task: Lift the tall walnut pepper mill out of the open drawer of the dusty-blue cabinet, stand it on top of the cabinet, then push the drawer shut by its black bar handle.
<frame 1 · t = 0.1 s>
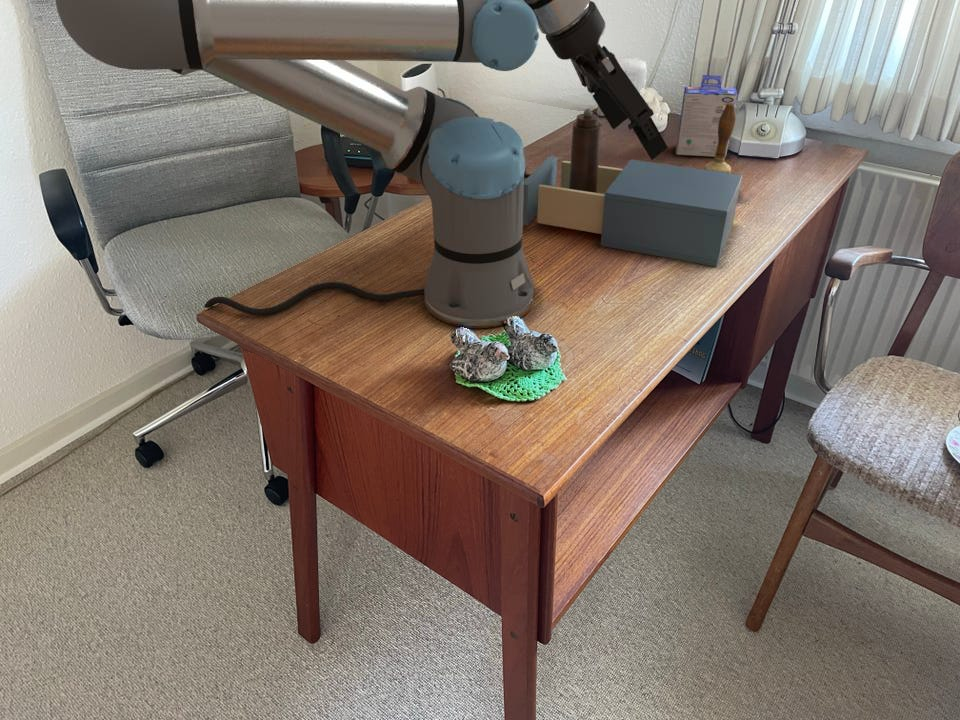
hand: (638, 137, 108), 15 cm above the table, tool tilted 35°, fingers open, 13 cm apart
drawer: (570, 194, 119), point 4 cm above the table, slide at 12.5 cm, touching pepper mill
cabinet: (667, 235, 116), on the table
hand bell: (712, 196, 128), on the table
pepper mill: (581, 209, 120), point 2 cm above the table, touching drawer
ink cartridge box: (700, 153, 146), on the table
white tall block: (619, 115, 167), on the table
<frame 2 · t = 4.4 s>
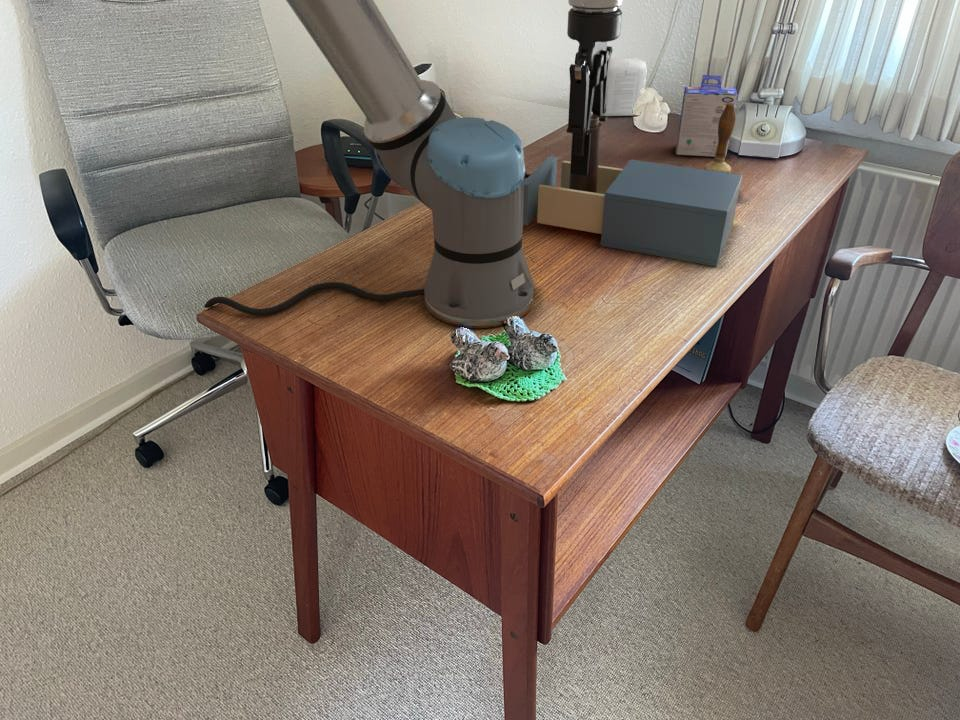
hand: (584, 167, 115), 9 cm above the table, tool pointing down, fingers closed on pepper mill, 4 cm apart
pepper mill: (581, 209, 120), point 2 cm above the table, touching drawer, gripper
everything else where it was.
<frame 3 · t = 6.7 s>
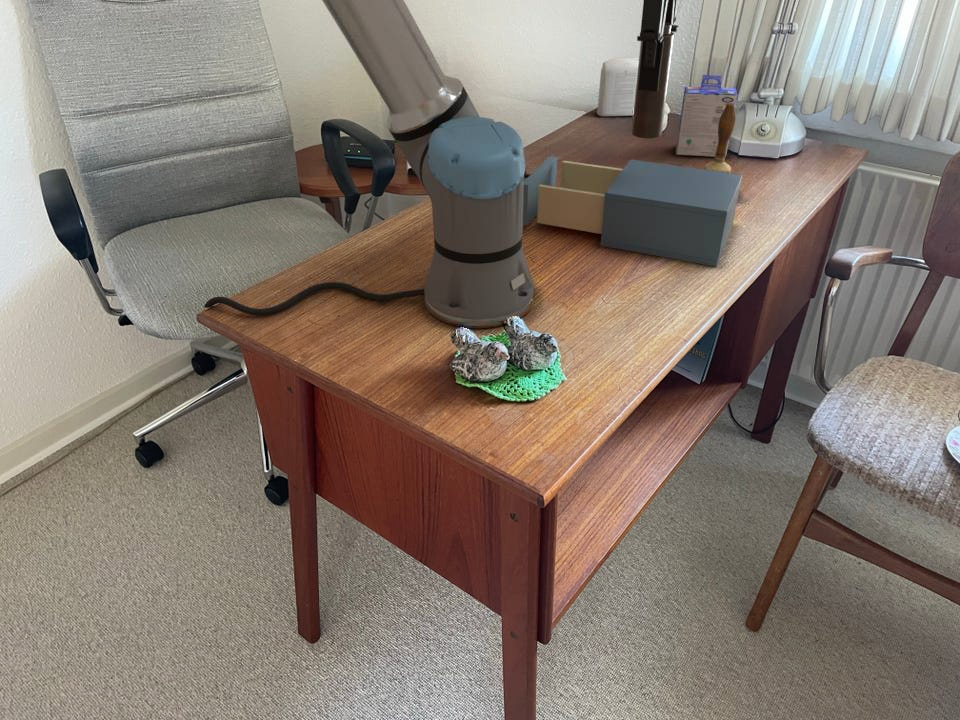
hand: (652, 84, 104), 23 cm above the table, tool pointing down, fingers closed on pepper mill, 4 cm apart
drawer: (570, 194, 119), point 4 cm above the table, slide at 12.5 cm
pepper mill: (646, 133, 109), point 16 cm above the table, touching gripper
everything else where it was.
when the fingers open (16 cm above the table, at t = 9.5 s): pepper mill stays where it is, resting on cabinet.
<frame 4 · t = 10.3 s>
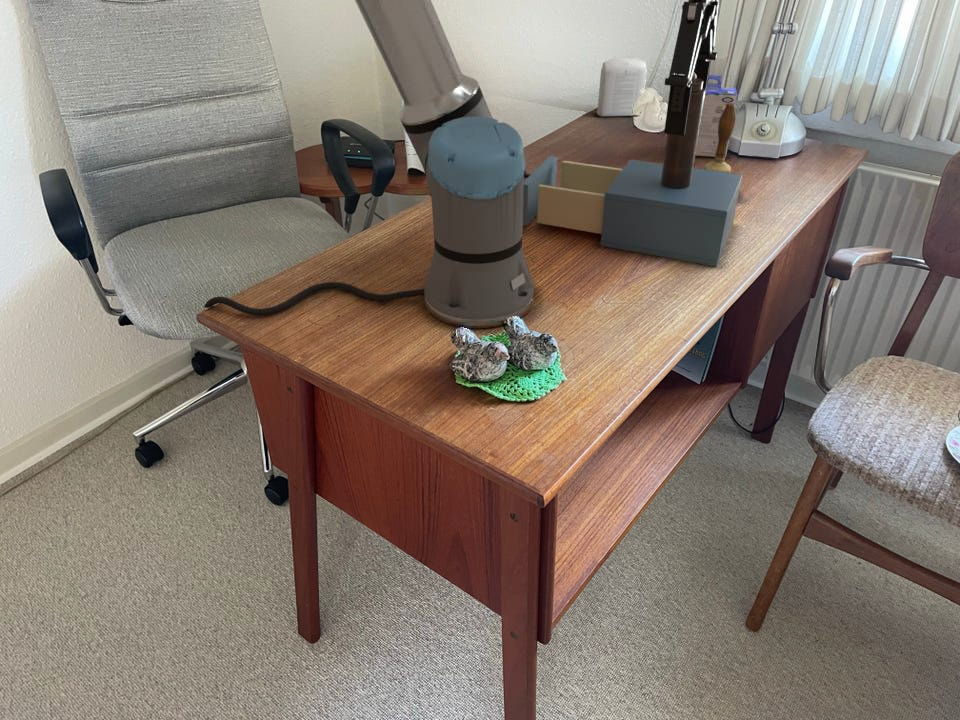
hand: (684, 119, 105), 18 cm above the table, tool pointing down, fingers open, 13 cm apart
pepper mill: (675, 183, 111), point 9 cm above the table, touching cabinet
everything else where it was.
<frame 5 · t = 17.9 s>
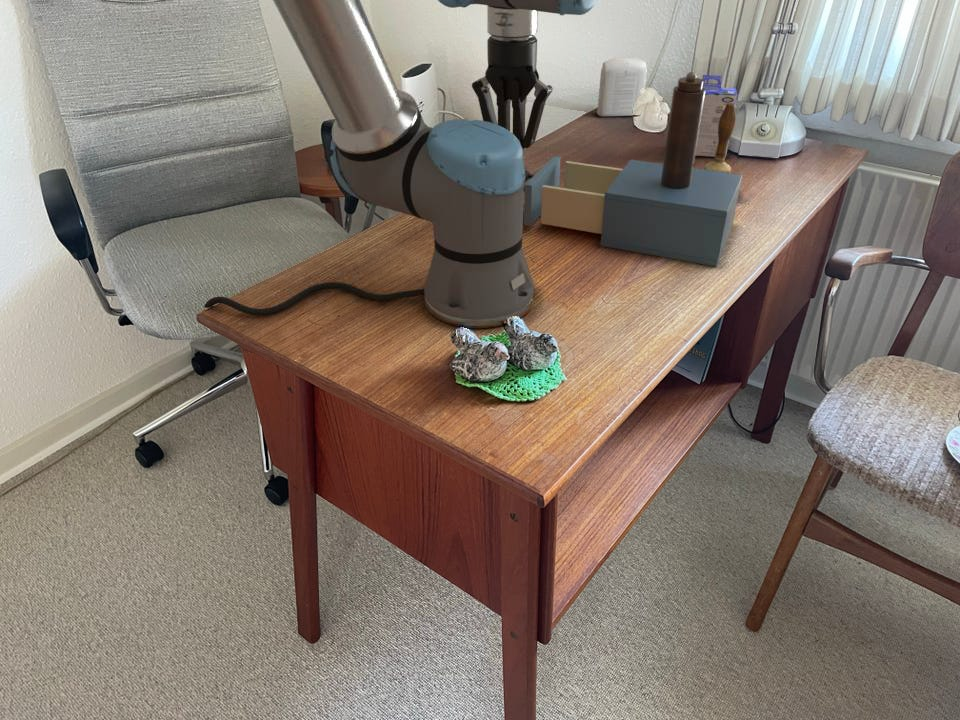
hand: (510, 185, 122), 4 cm above the table, tool pointing down, fingers closed
drawer: (574, 195, 119), point 4 cm above the table, slide at 11.9 cm, touching gripper
everything else where it was.
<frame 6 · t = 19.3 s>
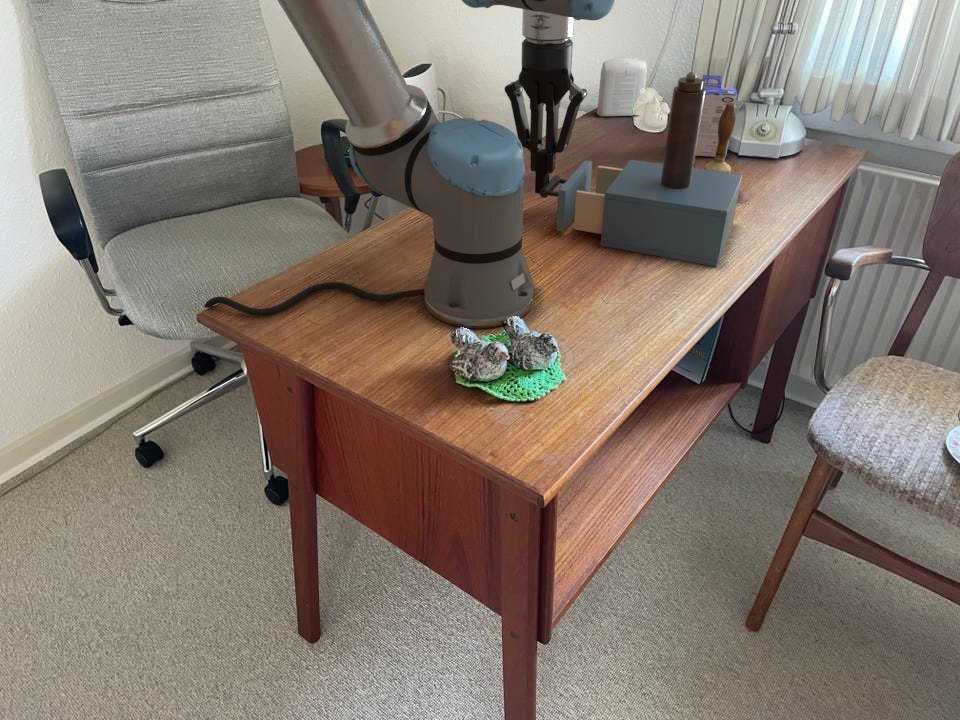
hand: (541, 190, 121), 4 cm above the table, tool pointing down, fingers closed
drawer: (607, 200, 117), point 4 cm above the table, slide at 6.3 cm, touching gripper
everything else where it was.
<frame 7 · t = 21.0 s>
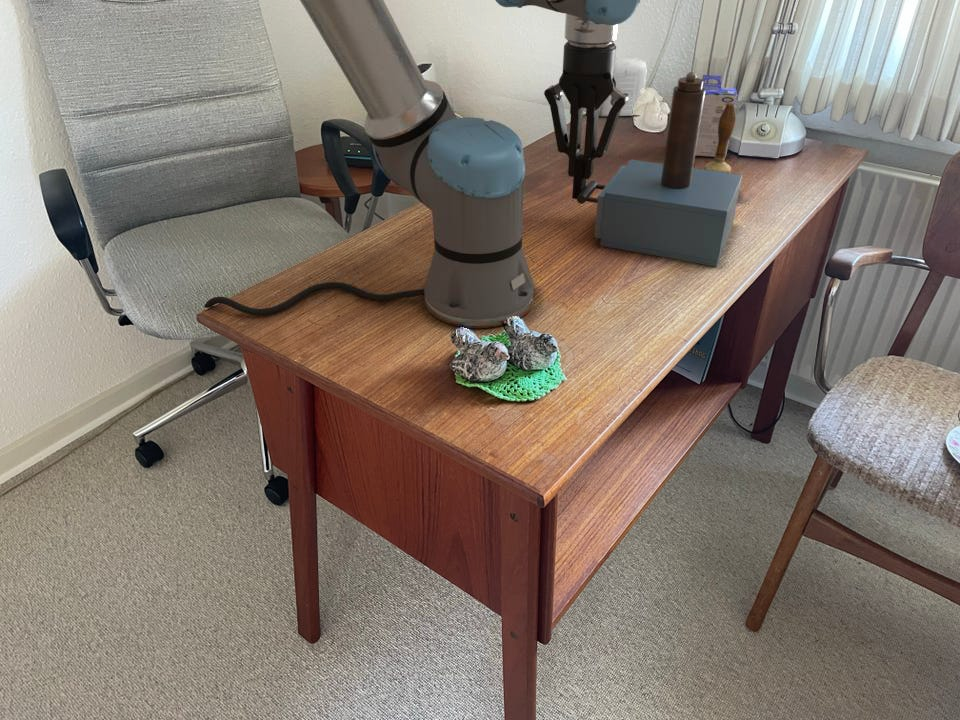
hand: (578, 195, 118), 4 cm above the table, tool pointing down, fingers closed
drawer: (646, 206, 115), point 4 cm above the table, slide at 0.0 cm, touching cabinet, gripper
everything else where it was.
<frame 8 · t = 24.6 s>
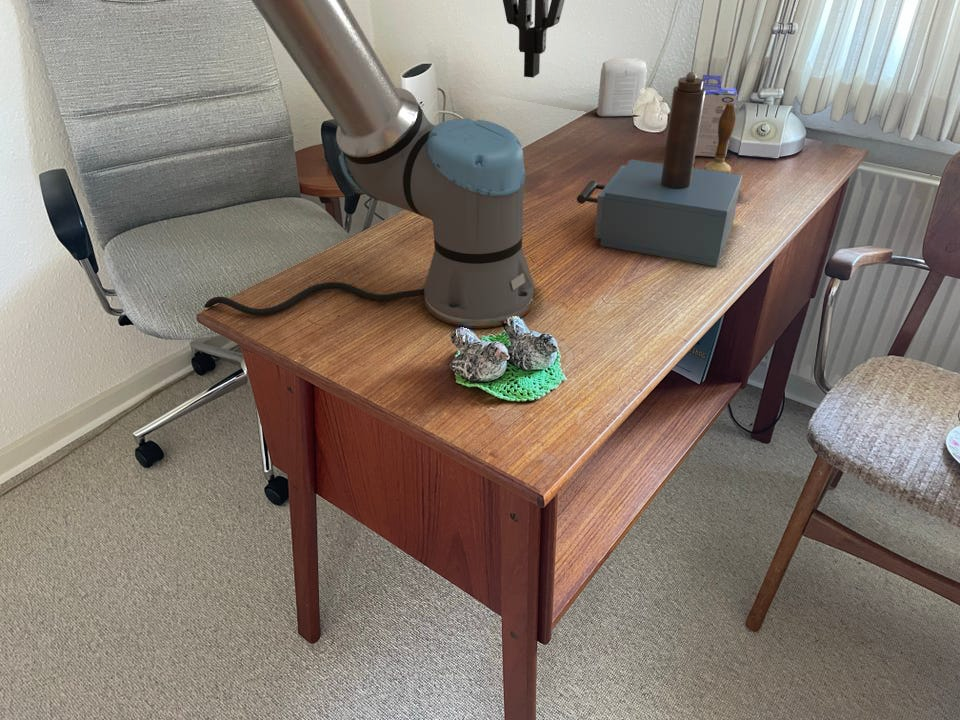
hand: (531, 74, 111), 22 cm above the table, tool pointing down, fingers closed
drawer: (646, 206, 115), point 4 cm above the table, slide at 0.0 cm
everything else where it was.
at the end: pepper mill inside the target area on the cabinet (0.0 cm from its centre), point 8.8 cm above the cabinet's base; pepper mill tilted 0°; drawer slide at 0.0 cm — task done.
